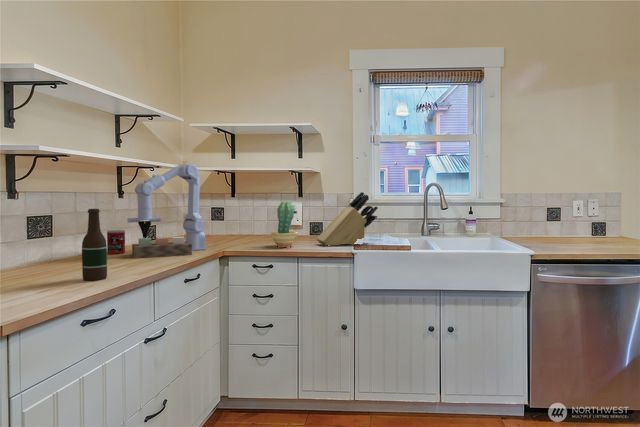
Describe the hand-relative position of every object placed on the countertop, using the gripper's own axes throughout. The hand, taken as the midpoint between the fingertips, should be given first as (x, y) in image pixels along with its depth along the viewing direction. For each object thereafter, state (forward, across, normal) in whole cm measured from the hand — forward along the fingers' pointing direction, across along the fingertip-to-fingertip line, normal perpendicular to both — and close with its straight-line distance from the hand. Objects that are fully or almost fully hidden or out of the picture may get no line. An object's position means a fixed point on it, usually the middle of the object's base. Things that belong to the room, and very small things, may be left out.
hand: (144, 237), depth 193 cm
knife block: (+9, +109, -4) cm, 110 cm away
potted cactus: (+9, +72, +2) cm, 72 cm away
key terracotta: (+4, +8, 0) cm, 9 cm away
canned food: (+9, -12, +14) cm, 20 cm away
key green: (+4, 0, 0) cm, 4 cm away
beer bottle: (+9, -20, -48) cm, 53 cm away
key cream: (+4, +15, 0) cm, 16 cm away
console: (+8, +8, 0) cm, 11 cm away
